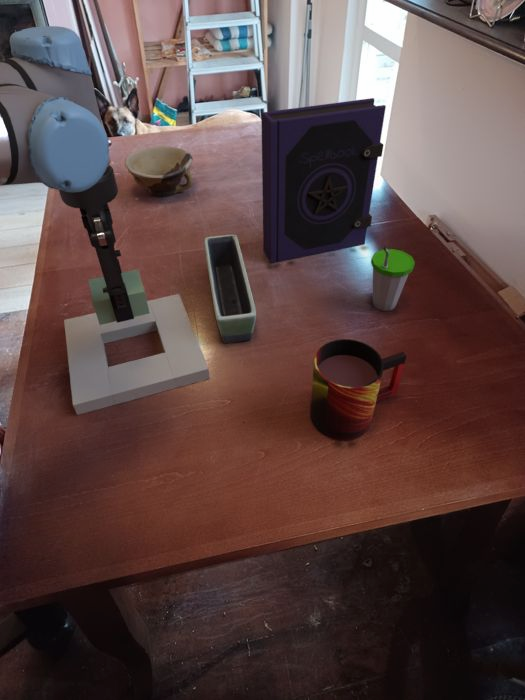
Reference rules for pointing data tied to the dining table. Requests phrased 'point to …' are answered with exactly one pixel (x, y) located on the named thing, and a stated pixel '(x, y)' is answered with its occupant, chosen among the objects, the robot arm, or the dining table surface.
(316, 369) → the mug
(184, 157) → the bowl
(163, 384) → the base pad
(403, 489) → the dining table surface
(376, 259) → the cup
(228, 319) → the planter
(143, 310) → the green block
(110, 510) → the dining table surface
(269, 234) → the book
